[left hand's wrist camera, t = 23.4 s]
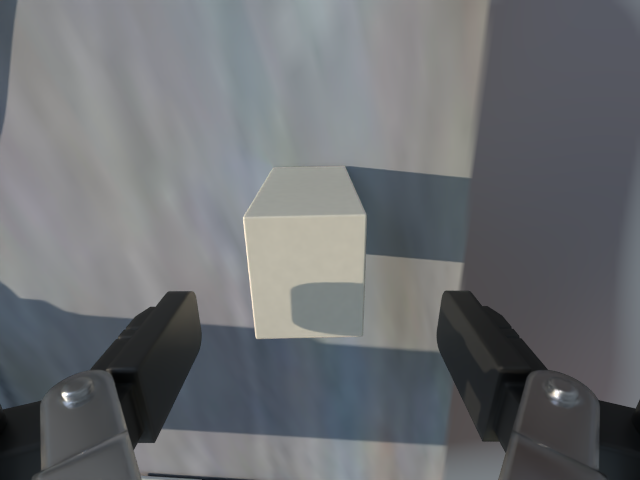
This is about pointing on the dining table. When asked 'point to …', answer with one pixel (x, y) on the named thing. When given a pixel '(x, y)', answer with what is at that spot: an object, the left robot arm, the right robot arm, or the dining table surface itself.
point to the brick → (307, 254)
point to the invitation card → (163, 478)
